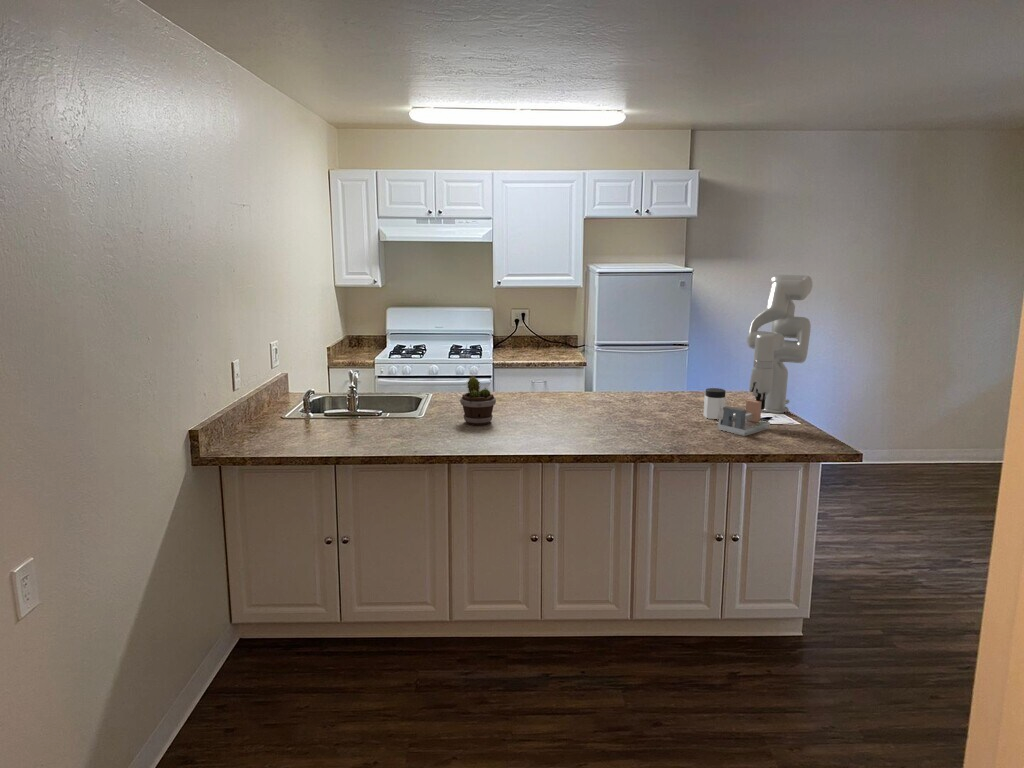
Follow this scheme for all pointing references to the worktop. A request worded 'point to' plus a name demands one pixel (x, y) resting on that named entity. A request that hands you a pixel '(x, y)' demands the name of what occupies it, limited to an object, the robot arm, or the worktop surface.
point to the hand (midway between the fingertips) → (759, 408)
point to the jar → (714, 403)
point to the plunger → (753, 411)
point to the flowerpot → (477, 404)
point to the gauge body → (740, 422)
